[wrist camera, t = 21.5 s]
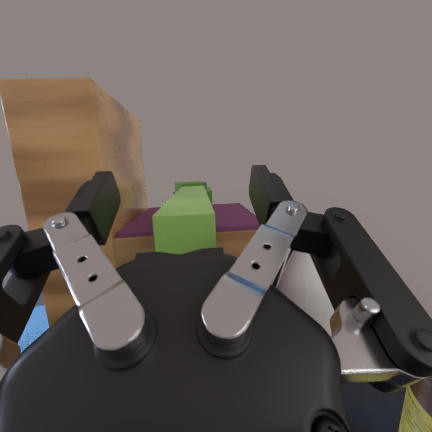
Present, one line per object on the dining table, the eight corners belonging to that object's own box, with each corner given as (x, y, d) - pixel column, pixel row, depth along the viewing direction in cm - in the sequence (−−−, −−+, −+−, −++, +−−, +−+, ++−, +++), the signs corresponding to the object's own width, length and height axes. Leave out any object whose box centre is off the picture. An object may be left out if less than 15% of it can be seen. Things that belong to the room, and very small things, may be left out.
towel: (266, 330, 21) (266, 224, 19) (130, 343, 20) (116, 233, 18) (240, 271, 33) (239, 203, 31) (156, 277, 32) (148, 207, 30)
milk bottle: (327, 351, 32) (337, 211, 28) (340, 406, 24) (355, 226, 20) (271, 341, 34) (272, 210, 30) (266, 389, 27) (267, 224, 23)
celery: (235, 255, 12) (234, 203, 12) (128, 262, 12) (121, 209, 11) (209, 197, 39) (208, 180, 38) (176, 199, 38) (175, 182, 38)
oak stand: (263, 429, 22) (264, 75, 16) (75, 453, 21) (-5, 78, 15) (239, 336, 35) (234, 117, 29) (121, 347, 34) (88, 121, 27)
